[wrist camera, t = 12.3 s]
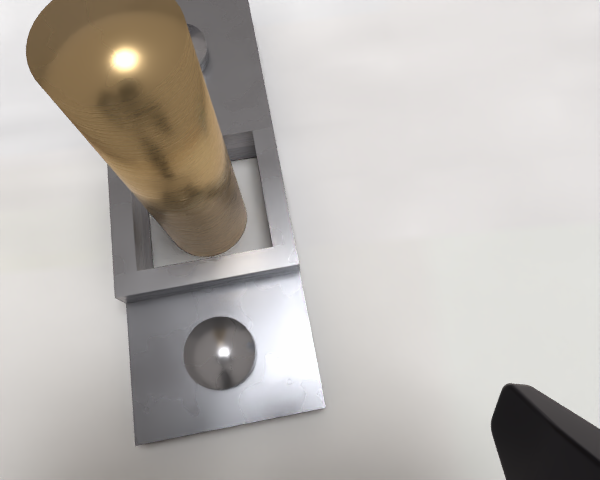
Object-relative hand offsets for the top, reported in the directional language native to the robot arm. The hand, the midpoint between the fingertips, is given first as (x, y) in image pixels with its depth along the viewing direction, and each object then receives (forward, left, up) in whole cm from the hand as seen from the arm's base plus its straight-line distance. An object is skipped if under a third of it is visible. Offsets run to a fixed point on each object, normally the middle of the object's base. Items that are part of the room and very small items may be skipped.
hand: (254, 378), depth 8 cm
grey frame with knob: (+6, +7, -13) cm, 16 cm away
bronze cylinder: (+6, +7, -13) cm, 16 cm away
